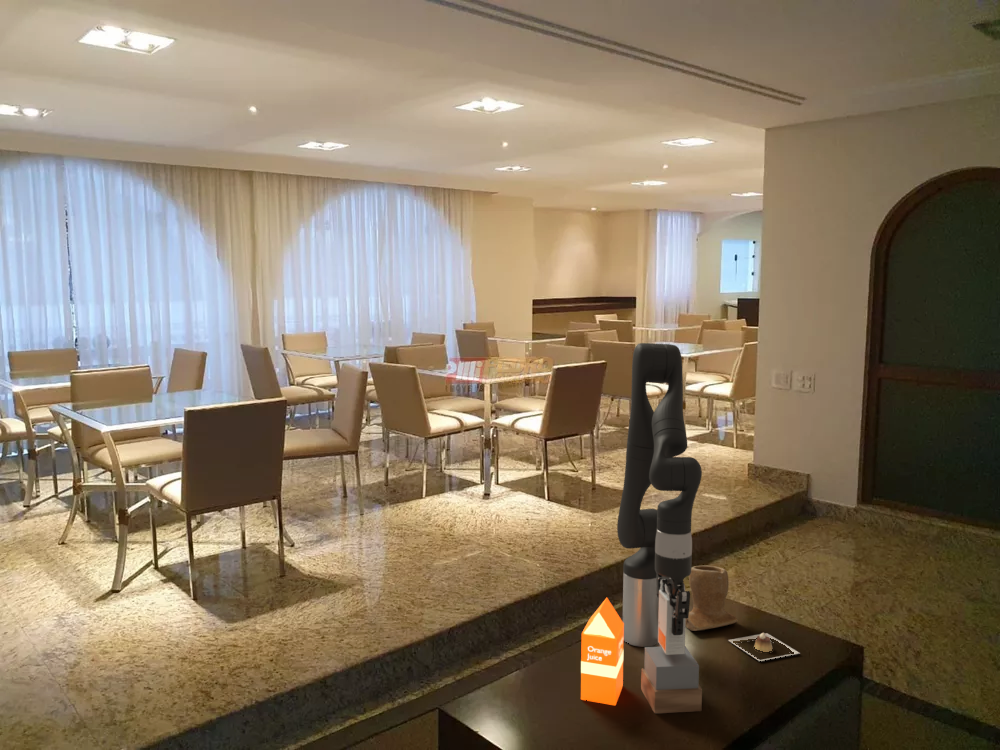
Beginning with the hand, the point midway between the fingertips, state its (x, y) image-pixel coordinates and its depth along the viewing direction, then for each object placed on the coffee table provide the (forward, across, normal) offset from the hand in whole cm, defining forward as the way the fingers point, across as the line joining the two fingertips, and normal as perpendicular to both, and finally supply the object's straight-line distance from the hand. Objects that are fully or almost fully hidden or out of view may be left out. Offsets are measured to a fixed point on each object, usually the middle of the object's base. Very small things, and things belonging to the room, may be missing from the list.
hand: (671, 627), depth 162 cm
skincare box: (+5, 0, 0) cm, 5 cm away
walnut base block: (+16, 0, 0) cm, 16 cm away
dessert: (+17, +20, -31) cm, 41 cm away
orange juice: (+16, +5, +14) cm, 22 cm away
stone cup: (+16, +36, -23) cm, 46 cm away
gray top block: (+11, 0, 0) cm, 11 cm away
